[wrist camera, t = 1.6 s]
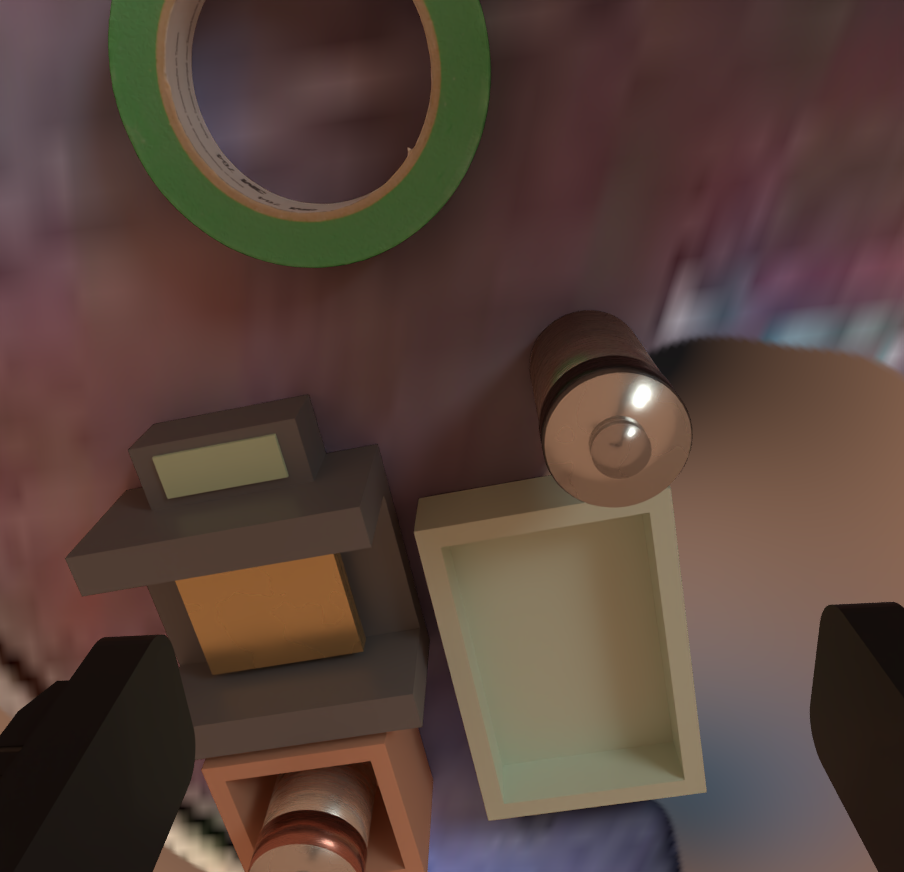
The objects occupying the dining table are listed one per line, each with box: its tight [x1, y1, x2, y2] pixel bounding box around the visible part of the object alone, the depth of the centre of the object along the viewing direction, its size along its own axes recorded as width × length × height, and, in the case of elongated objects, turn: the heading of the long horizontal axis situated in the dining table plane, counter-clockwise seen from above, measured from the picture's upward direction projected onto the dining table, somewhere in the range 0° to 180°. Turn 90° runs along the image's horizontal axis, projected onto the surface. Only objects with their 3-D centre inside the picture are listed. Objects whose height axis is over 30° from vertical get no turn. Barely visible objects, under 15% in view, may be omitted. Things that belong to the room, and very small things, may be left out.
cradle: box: [65, 394, 430, 760], centre depth 29 cm, size 10×11×5 cm
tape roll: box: [108, 0, 491, 268], centre depth 24 cm, size 11×11×3 cm
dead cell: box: [248, 761, 377, 872], centre depth 31 cm, size 4×4×8 cm
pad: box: [175, 553, 366, 675], centre depth 30 cm, size 6×5×1 cm
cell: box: [529, 310, 692, 508], centre depth 25 cm, size 4×4×8 cm
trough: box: [414, 475, 706, 821], centre depth 32 cm, size 9×14×3 cm, turn 12°
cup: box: [201, 728, 433, 872], centre depth 33 cm, size 7×7×5 cm
